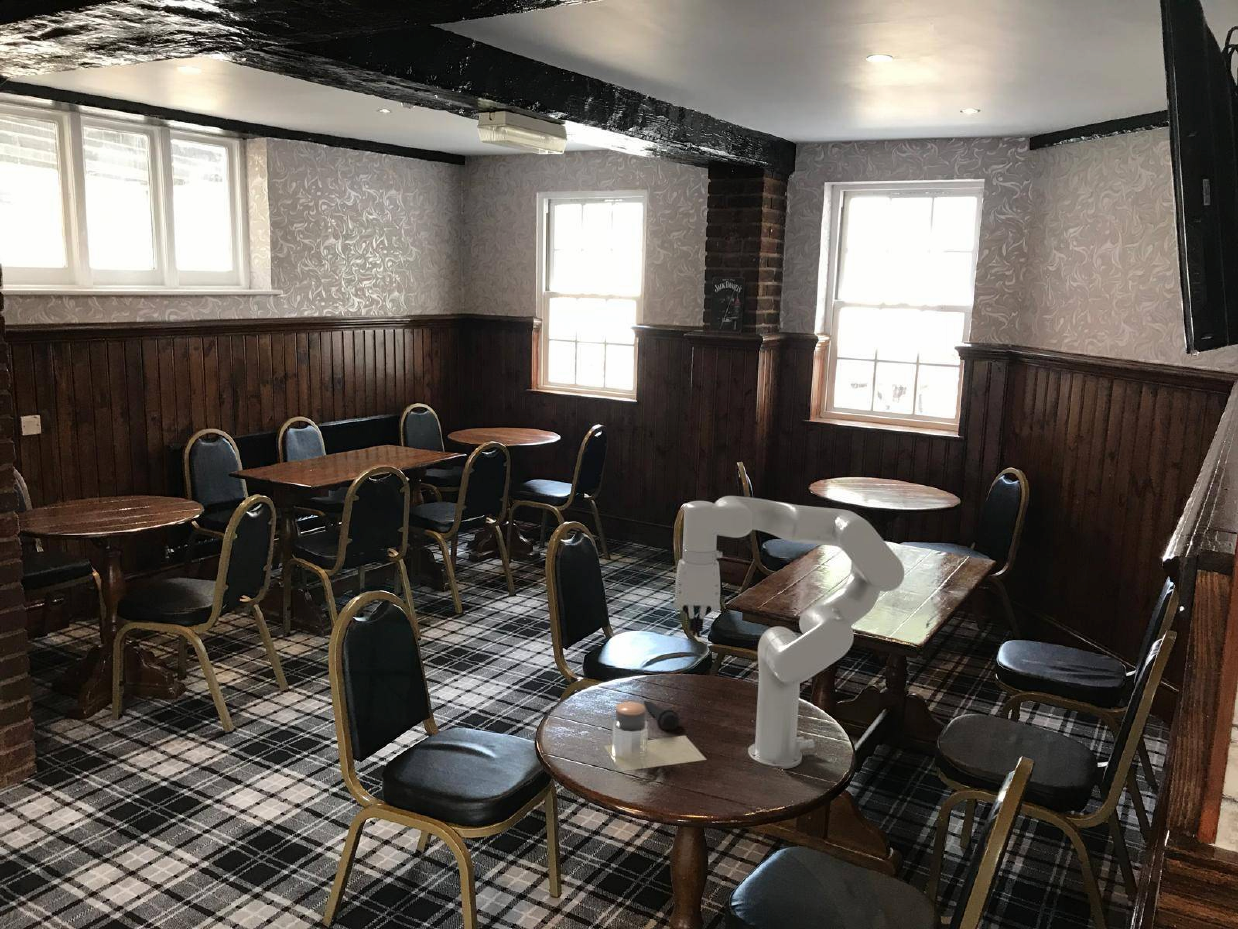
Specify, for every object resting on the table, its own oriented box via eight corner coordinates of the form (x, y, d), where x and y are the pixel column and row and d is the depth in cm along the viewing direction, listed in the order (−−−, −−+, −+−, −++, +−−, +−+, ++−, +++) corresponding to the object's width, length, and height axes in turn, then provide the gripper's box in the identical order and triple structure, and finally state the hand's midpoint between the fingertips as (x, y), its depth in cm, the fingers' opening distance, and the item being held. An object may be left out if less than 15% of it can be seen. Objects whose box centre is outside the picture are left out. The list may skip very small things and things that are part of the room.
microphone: (638, 715, 263) (665, 739, 244) (632, 696, 262) (658, 718, 243) (657, 707, 264) (685, 730, 245) (650, 688, 263) (678, 709, 244)
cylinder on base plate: (684, 739, 242) (686, 708, 241) (706, 763, 230) (707, 731, 229) (603, 750, 235) (604, 718, 234) (621, 775, 223) (622, 742, 222)
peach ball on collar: (638, 728, 236) (639, 700, 235) (648, 740, 230) (649, 712, 229) (611, 731, 234) (612, 703, 233) (620, 744, 228) (621, 715, 226)
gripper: (730, 552, 226) (727, 629, 230) (665, 550, 227) (662, 627, 230) (733, 561, 219) (729, 640, 222) (666, 559, 219) (663, 638, 222)
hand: (695, 633), depth 226 cm, fingers closed
